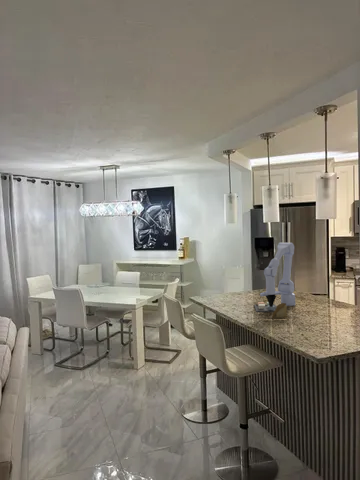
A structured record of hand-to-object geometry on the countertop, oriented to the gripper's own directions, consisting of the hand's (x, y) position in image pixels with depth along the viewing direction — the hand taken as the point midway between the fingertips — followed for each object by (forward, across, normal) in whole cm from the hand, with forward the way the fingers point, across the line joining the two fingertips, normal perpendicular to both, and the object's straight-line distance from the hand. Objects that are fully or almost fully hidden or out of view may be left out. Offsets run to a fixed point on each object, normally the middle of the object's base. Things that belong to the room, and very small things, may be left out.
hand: (271, 306), depth 235 cm
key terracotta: (+1, +3, -8) cm, 9 cm away
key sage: (+1, -2, -6) cm, 6 cm away
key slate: (+2, 0, 0) cm, 2 cm away
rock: (+4, +3, +17) cm, 18 cm away
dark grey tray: (+3, +2, -4) cm, 6 cm away
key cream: (+1, +6, -2) cm, 6 cm away
